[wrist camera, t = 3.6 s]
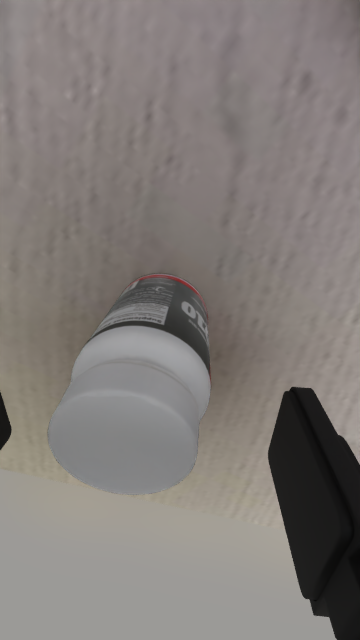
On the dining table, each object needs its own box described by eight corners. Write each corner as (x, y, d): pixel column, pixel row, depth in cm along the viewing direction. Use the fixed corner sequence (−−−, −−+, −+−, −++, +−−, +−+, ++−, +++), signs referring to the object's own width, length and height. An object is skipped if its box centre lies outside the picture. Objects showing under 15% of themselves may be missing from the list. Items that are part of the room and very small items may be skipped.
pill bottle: (213, 346, 15) (225, 502, 8) (132, 356, 16) (72, 509, 9) (199, 263, 13) (198, 368, 6) (106, 279, 14) (1, 392, 7)
